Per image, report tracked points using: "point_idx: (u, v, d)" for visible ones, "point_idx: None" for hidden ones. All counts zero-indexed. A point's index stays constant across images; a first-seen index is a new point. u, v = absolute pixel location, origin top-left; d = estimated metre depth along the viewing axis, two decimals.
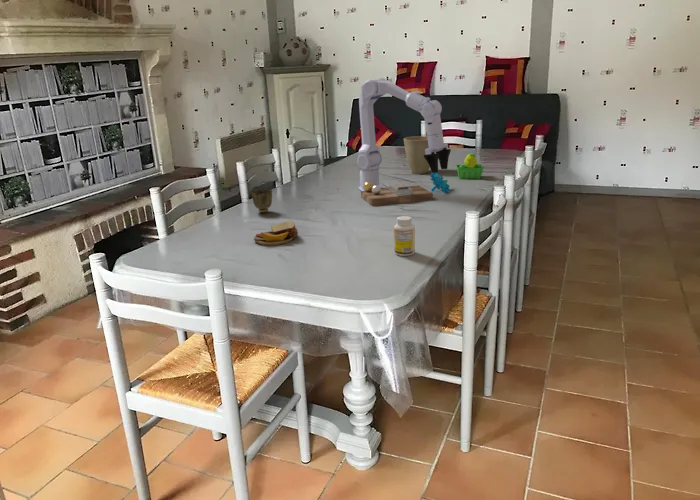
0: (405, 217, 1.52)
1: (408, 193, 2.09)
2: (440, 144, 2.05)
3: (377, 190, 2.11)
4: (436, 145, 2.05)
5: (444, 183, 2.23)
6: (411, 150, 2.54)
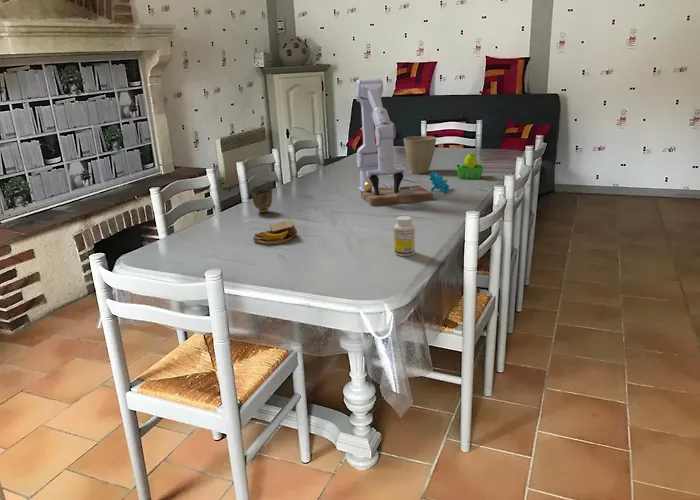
0: (405, 217, 1.52)
1: (410, 193, 2.09)
2: (384, 169, 2.03)
3: None
4: (380, 169, 2.04)
5: (443, 183, 2.23)
6: (411, 150, 2.54)
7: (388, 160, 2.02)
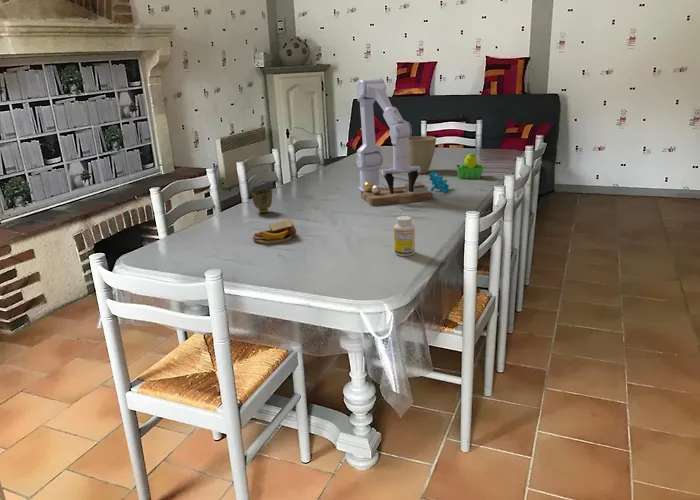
0: (405, 217, 1.52)
1: (424, 191, 2.11)
2: (399, 168, 2.04)
3: (377, 190, 2.11)
4: (395, 168, 2.05)
5: (443, 183, 2.24)
6: (411, 150, 2.54)
7: (403, 159, 2.03)
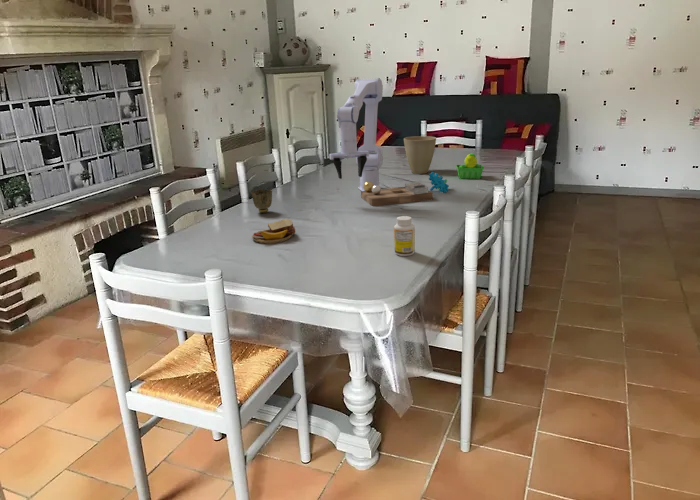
0: (405, 217, 1.52)
1: (424, 191, 2.11)
2: (347, 152, 2.02)
3: (377, 190, 2.11)
4: (343, 152, 2.03)
5: (443, 183, 2.24)
6: (411, 150, 2.54)
7: (351, 143, 2.01)
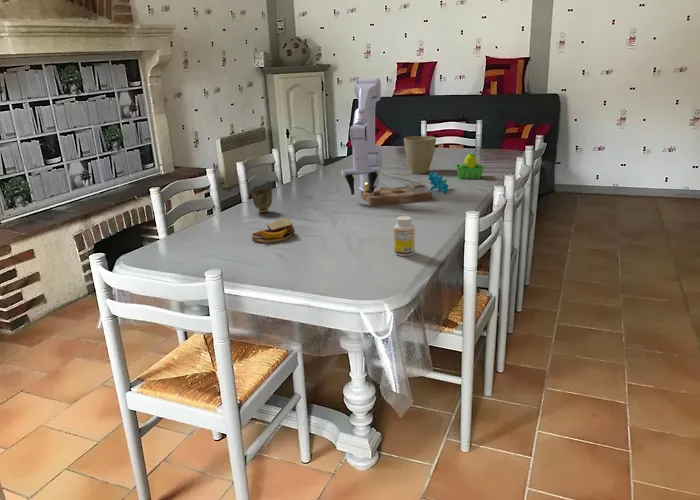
0: (405, 217, 1.52)
1: (424, 191, 2.11)
2: (359, 169, 2.06)
3: (377, 190, 2.11)
4: (355, 168, 2.06)
5: (443, 183, 2.24)
6: (411, 150, 2.54)
7: (362, 160, 2.05)
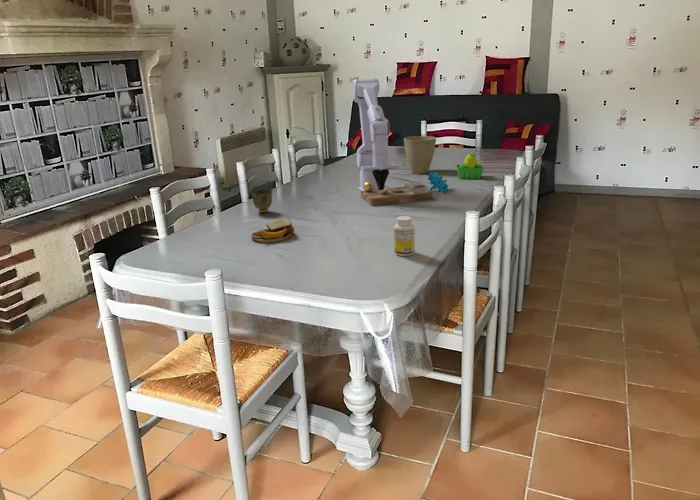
0: (405, 217, 1.52)
1: (424, 191, 2.11)
2: (379, 164, 2.07)
3: (384, 190, 2.11)
4: (375, 165, 2.07)
5: (442, 183, 2.24)
6: (411, 150, 2.54)
7: (382, 156, 2.06)
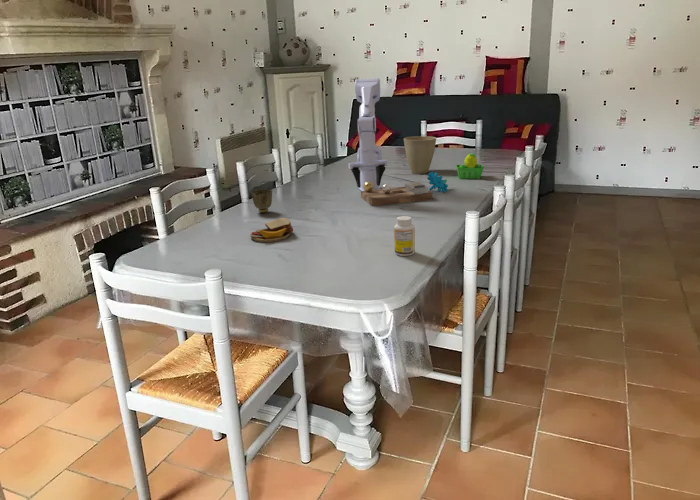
0: (405, 217, 1.52)
1: (424, 191, 2.11)
2: (366, 161, 2.06)
3: (387, 188, 2.12)
4: (362, 161, 2.06)
5: (442, 183, 2.24)
6: (411, 150, 2.54)
7: (370, 152, 2.04)
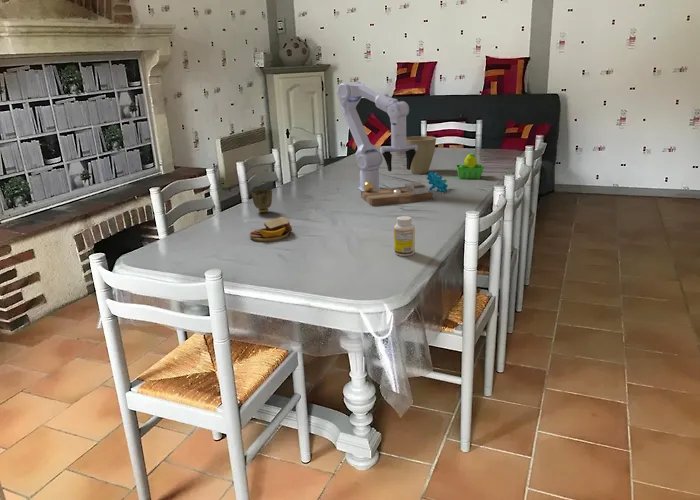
0: (405, 217, 1.52)
1: (424, 191, 2.11)
2: (397, 145, 2.12)
3: None
4: (393, 145, 2.13)
5: (442, 183, 2.24)
6: None
7: (401, 137, 2.11)
